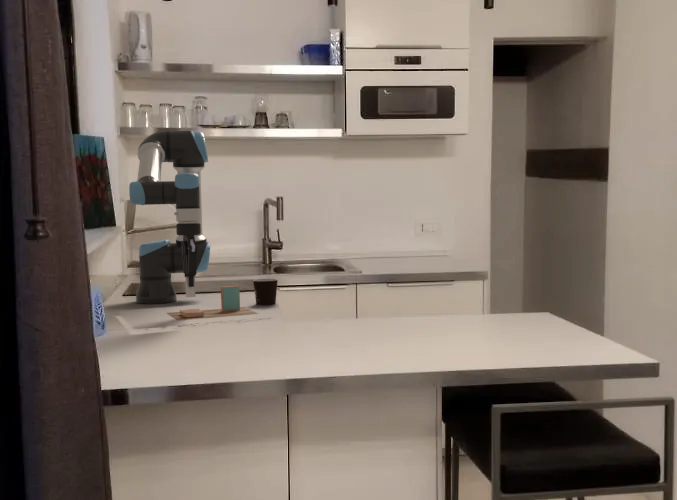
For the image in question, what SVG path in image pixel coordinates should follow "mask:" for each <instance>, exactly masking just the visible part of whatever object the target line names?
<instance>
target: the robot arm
mask: <svg viewBox="0 0 677 500" xmlns="http://www.w3.org/2000/svg"><path fill="white" fill-rule="evenodd" d="M206 145H207V144H206V138H205V134H204V133H203V132H202V131H199V130H160V131H155V132H154V133H152V134H150V135H148V136H147V137H145V138H144V139H143V140H142V142H141V143H140V144H139V146H138V150H137V157H138V160H139V163H138V164H139V165H138V171H137V172H138V173H137V180H136V181H131V182H130V183H129V188H128V191H129V192H128V194H129V202H130V204H132V205H138V206H139V205H141V206H147V205H148V206H149V205H150V206H151V205H175V212H174V213H173V214H174V216H175V217H176V218H175V219H176V220H175V221H176V222H177V224H176V227H175V229H176V231H175V232H176V235H177V236H176V237H175V242H171V240H170V239H162V240H161V239H160V240H155V241H150V242H149V241H148V242H144V243H142V244H140V245H139V247H138V254H139V255H138V258H139V285H138V287H137V288H138V289H137V292H136V294H135V302H136V303H137V304H143V303H145V304H146V305H147V304H148V305H149V304H150V305H153V304H156V305H157V304H167V303H172V302H176V301H177V299H178V298H177V293H176V290H175V287H174V284H173V282H172V274H184V275H183V277H184V278H185V297H186V298H195V297H196V275H197V273H205V272H206V271H208V270H209V262H210V255H211V242H209V241H207V237H206V236H205V234H203V213H202V209H203V208H202V176H201V175H202V174H201V173H202V172H201V171H202V170H204V168H205V163H208V162H209V157H208V151H207V146H206ZM163 163H172V164H173V165H172V168H173V169H174V170H175V171H176V172H177V173H176V174H175V176H174V181H173V180H172V181H171V180H169V181H168V180H167V181H161V180H162V178H161V177H162V166H163V165H162V164H163ZM145 304H144V305H145Z"/></svg>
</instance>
